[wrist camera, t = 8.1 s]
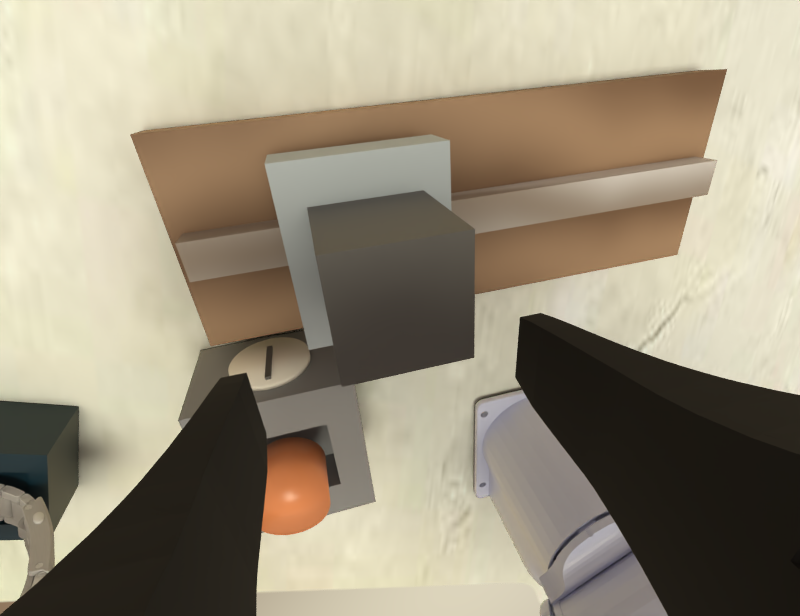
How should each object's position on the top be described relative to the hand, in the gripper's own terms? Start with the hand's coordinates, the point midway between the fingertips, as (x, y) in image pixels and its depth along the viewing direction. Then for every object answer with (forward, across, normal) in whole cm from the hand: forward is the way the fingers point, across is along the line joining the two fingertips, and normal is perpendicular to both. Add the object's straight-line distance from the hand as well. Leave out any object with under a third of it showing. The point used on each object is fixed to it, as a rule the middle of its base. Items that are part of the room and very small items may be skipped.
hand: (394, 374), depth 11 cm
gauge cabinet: (+10, +4, +8) cm, 14 cm away
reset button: (+5, +4, +8) cm, 11 cm away
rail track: (+10, -6, -1) cm, 12 cm away
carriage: (+7, -1, -1) cm, 8 cm away
